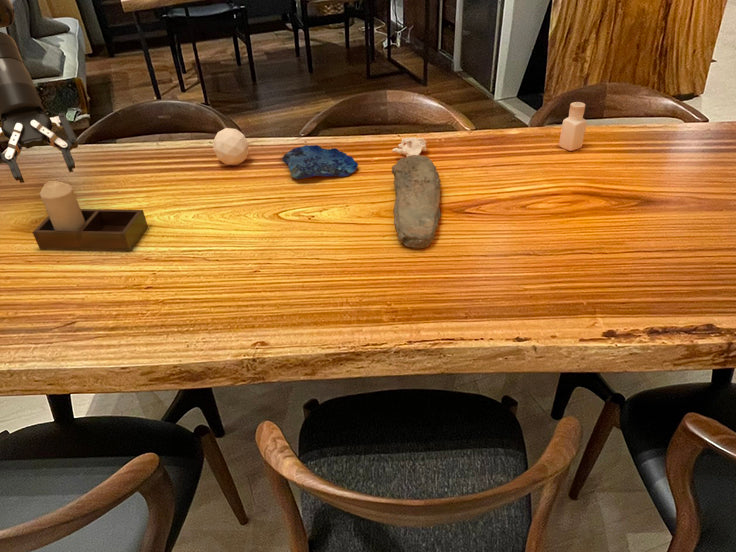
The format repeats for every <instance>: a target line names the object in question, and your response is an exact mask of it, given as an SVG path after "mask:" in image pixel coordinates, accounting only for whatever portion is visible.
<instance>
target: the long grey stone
mask: <svg viewBox="0 0 736 552" xmlns="http://www.w3.org/2000/svg"><path fill="white" fill-rule="evenodd" d="M391 174H393V186H394V194H395V200H394V205H393V224H394V229H395V231H396V234H397V235H396V236H397V239H398V242H401V243H402V244H403V245H404V246H405V247H407V248H411V249H424V248H427V247H430V245H431V243H432V242H433V241H434V240H435V238H436V231H438V229H439V221H440V219H441V217H442V213H441V209H440V202H441V201H440V200H441V193H440V192H441V179H440V175H439V172H438V171H437V166H436V165H435V164H434V162H433V160H432V159H430V158H429V157H427V155H421V154H419V155H411V156H408V157H401V158H400V159H398V160H397V161H396V163H395V164H393V165H392V167H391Z"/></svg>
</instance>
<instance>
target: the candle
mask: <svg viewBox="0 0 736 552" xmlns="http://www.w3.org/2000/svg"><path fill="white" fill-rule="evenodd" d="M39 196H40V198H41V201H42V203H43V205H44V208H45V211H46V213H47V215H48V216H49V218H50V220H51V222H52V225H53V227H54V230H55V231H78V230H79V229H80V228H81V227H82V226H83V225H84V224H85V220H84V217H83V215H82V212H81V209H82V208H81V206H80V204H79V202H78V199H77V196H76V193H75V191H74V189H73V186H71V185H70V184H68V183H66V182H61V181H58V180H49V181H47V182H45V183H44V184H43V186H42V188H41V190H40V192H39Z"/></svg>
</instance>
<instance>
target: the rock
mask: <svg viewBox="0 0 736 552" xmlns="http://www.w3.org/2000/svg"><path fill="white" fill-rule="evenodd" d="M282 162H283V163H285V164H286V165H288V166H287V167H288V169H289V171H290V178H294V179H296V180H302V179H306V178H311V177H315V176H317V177H347V176H350V175H352V174H353V173H354V172H355V171H356V170H357V168H358V166H359V163H358V162H357V161H355V159H354V158H353V156H350V155H347V153H346V152H344V151H340V150H339V149H338V148H336V147H334V148H333V147H332V148H331V149H329V148H328V149H327V148H323V147H321V146H320V145H318V144H311V145H307V144H305V145H302V146H299V147H294V148H292V149H291V150H289V151H287V152H286V153H285V154H284V155H283V156H282Z"/></svg>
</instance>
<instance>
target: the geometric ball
mask: <svg viewBox="0 0 736 552" xmlns="http://www.w3.org/2000/svg"><path fill="white" fill-rule="evenodd" d="M212 149H213V150H212V151H213V152H214V154H215V156H216V158H217V160H219V161H220V162H221V163H223V164H224V165H225V166H238V165H240V164H241V163H243V162H245V160H246V158H247V157H248V155H249V142H248V140H247V138H246V136H245V134H244V133H242V132H241V131H240V130H238V129H237V128H231V127H225V128H223V129H221V130H219V131H217V133H216V135H215V137H214V138H213V142H212Z"/></svg>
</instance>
